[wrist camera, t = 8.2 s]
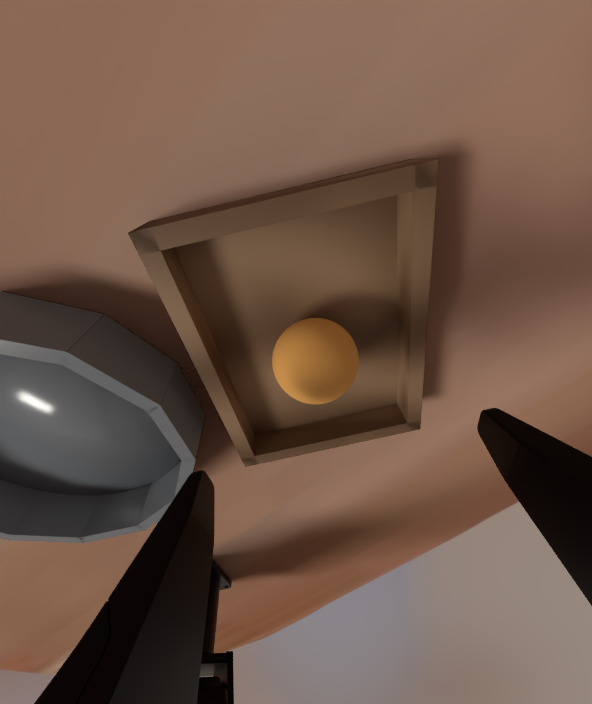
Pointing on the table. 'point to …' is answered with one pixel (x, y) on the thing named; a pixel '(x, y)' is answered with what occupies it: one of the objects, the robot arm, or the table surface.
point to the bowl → (87, 425)
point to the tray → (304, 301)
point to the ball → (315, 361)
